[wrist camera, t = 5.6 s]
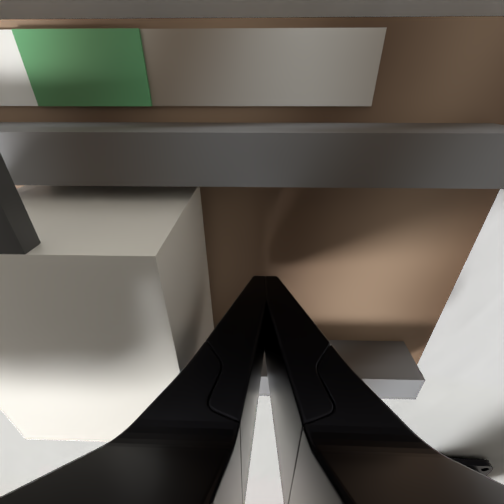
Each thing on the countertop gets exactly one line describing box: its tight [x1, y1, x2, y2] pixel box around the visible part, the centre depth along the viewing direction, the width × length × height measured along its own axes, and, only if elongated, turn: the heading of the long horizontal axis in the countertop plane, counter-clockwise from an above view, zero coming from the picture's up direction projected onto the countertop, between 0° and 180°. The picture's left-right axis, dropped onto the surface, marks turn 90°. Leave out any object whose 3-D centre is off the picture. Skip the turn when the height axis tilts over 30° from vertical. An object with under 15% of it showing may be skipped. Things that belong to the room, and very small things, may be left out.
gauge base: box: [0, 16, 504, 399], centre depth 9 cm, size 24×14×6 cm, turn 90°
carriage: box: [0, 153, 214, 442], centre depth 7 cm, size 9×10×4 cm
